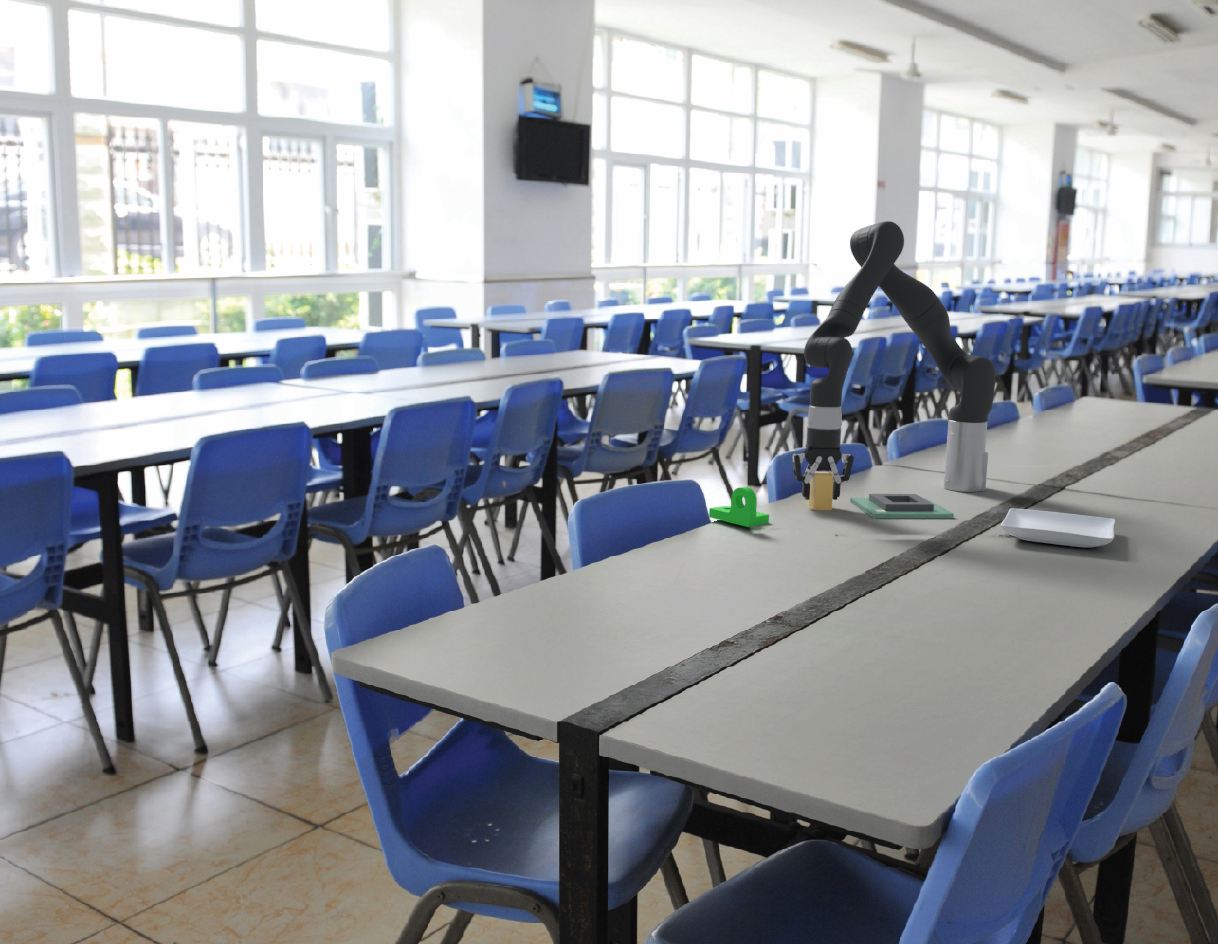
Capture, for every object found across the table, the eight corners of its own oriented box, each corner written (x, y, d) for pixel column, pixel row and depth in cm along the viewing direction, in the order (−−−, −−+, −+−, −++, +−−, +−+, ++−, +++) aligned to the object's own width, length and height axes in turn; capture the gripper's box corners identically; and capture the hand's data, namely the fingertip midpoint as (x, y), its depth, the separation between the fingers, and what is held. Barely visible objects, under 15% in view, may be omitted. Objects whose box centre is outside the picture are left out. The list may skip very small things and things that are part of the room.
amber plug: (825, 505, 259) (827, 471, 257) (831, 510, 254) (833, 475, 252) (808, 505, 258) (810, 471, 257) (814, 510, 253) (816, 475, 252)
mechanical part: (768, 523, 239) (770, 486, 238) (748, 527, 236) (750, 489, 234) (728, 514, 249) (730, 478, 247) (709, 517, 245) (710, 481, 244)
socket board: (925, 502, 265) (925, 491, 265) (953, 518, 247) (954, 507, 247) (850, 501, 264) (850, 491, 263) (873, 518, 246) (874, 506, 246)
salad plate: (1114, 532, 238) (1115, 516, 237) (1112, 554, 219) (1114, 536, 218) (1008, 521, 247) (1010, 506, 246) (998, 541, 228) (999, 525, 227)
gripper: (851, 423, 257) (846, 496, 260) (789, 423, 256) (785, 495, 259) (860, 428, 250) (856, 502, 253) (796, 427, 249) (793, 502, 252)
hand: (820, 498), depth 256 cm, fingers open, 5 cm apart
